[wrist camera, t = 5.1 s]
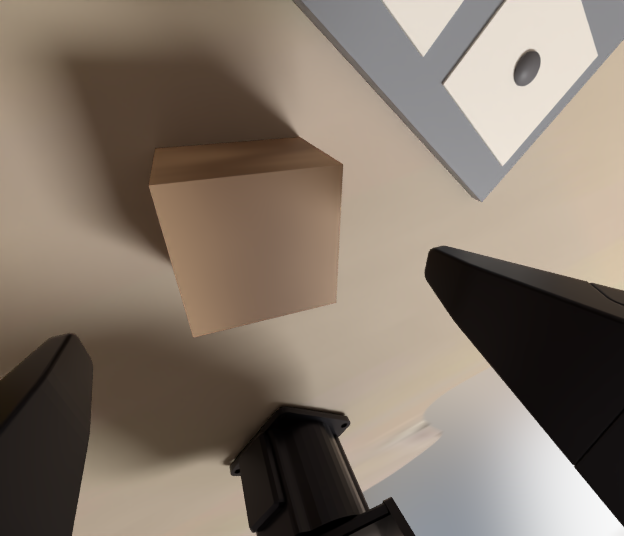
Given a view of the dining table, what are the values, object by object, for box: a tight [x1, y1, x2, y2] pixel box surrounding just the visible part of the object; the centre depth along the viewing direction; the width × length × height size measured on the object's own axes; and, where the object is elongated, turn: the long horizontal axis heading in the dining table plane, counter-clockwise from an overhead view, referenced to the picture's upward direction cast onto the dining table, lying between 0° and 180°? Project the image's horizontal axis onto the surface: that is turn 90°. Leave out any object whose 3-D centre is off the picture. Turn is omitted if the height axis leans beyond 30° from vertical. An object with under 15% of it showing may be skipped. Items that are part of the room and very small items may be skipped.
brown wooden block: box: [149, 137, 343, 338], centre depth 11 cm, size 5×5×4 cm
